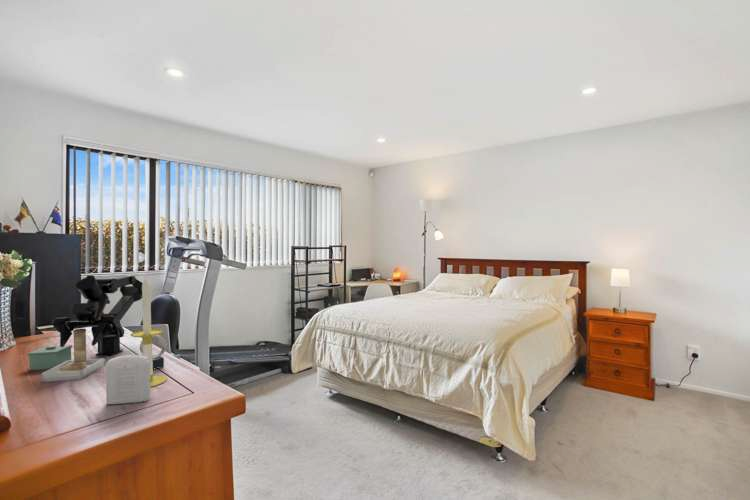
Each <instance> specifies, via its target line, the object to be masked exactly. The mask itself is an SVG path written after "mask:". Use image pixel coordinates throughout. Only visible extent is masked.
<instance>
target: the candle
mask: <svg viewBox="0 0 750 500" xmlns="http://www.w3.org/2000/svg"><path fill="white" fill-rule="evenodd" d="M142 283H143V284H142V299H141V301H142V302H141V303H142V330H138V331H134V332H132V333H130V337H132V338H142V340H143V354H142V356H146V357H149V359H150V388H152V387H151V386H155V385H158V384H161V383H163V382H164V381H165V380H166V379H167V380H168V378H167V377H166V376H164V375H154V370H153V359H152V356H153V337H152V336H154V335H161V334H162V333H164V329H160V328H157V329H156V328H155V329H154V328H152V310H151V309H152V304H151V303H152V302H151V298H152V297H151V283H150V282H149V280H148V277H145V279H144V282H142ZM164 383H165V382H164ZM164 383H163V384H164ZM161 385H162V384H161ZM158 386H159V385H158ZM155 387H156V386H155Z"/></svg>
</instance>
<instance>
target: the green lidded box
mask: <svg viewBox="0 0 750 500" xmlns="http://www.w3.org/2000/svg"><path fill="white" fill-rule="evenodd" d="M72 348H73V344H68V345H67V344H65V345H64V347H61V346H60V345H50V346H49V345H48V346H47V345H46V346H42V347H40V348H38V349H37V348H36V349H35V350H33V351H30V352H27V356H28V358H29V370H30V371H36V370H37V371H39V370H49V369H51V368H54V367H56V366H58V365H60V364H62V363H64V362H66V361H68V360H72Z"/></svg>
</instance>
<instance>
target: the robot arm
mask: <svg viewBox="0 0 750 500" xmlns="http://www.w3.org/2000/svg"><path fill="white" fill-rule="evenodd" d="M143 283H144V282H142V281H140V280H139V279H137V278H136V277H135V275H133V274H126V275H124V274H123V275H120V276H118V277H114V278H96V276H95V275H93V274H91V275H86V277H84V278H81V279H80V280H78V282H76V284H75V287H76V289H77V290H78V291H79V293H80V294H81V296H82V298H84V300H87V301H86V302H83V303H82V302H76V303H72V305H71V310H70V314H71V315H72V314H73V315H74V318H75V319H77V320H71V318H70V317H69V316H68V317H56V318H54V319H53V320H52V322H51V326H53V328H54V329H55V330H56V331H57V333H59V335H60V336H59V341H60V342H59V346H61V347H64V345H67V343H68V341H69V339H70V338H71V337H72V335H73V330H75V328H81V327H82V328H83V327H84V328H85V327H86V328H90V329H91V333H92V338H93V339H92V340H91V341H92V342H91V346H92V347H93V346H96V345H97V353H95V354H94V355H95V356H101V357H102V356H105V357H106V356H107V357H108V356H114V355H117V354H119V353H122V352H124V349H121V341H120V340H121V338H123V337H124V336H125V329H124V328H123V326H122V325H121V321H122V319H123V318H124V316H125V314H127V312H128V311H129V309H130V308H131V307H132V306H133V304H134V303H135V302H138V301H140V300H141V301H142V284H143ZM118 290H119V291H120V293H121V297H120V299H119V300H118V301H117V302H116V303H115V305H114V306H113V308H111V310H110V311H109V312H108V313H104V310H105V308H106V306H107V305H110V304H111V301H110V299H109V298H110V297H109V296H108V295H109V294H115V293H116V292H118Z"/></svg>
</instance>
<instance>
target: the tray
mask: <svg viewBox="0 0 750 500" xmlns="http://www.w3.org/2000/svg"><path fill="white" fill-rule="evenodd" d="M68 363H74V359H71V360H68V361H66V362H64V363H62V364H60V365H58V366H56V367H54V368H51V369H46V371H45V370H44V371H43V372H41V373H40V382H41V383H43V382H55V381H56V382H57V381H72V380H82V379H85V378H86V377H88V376H90V375H92V374H93V373H94V372H96V371H97V370H99V369H101V368H103V367H105V358H103V357H102V358H86V365H87V366H86V368H84V369H83V370H81V371H66V372H60V367H62V366H64V365H66V364H68Z"/></svg>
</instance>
